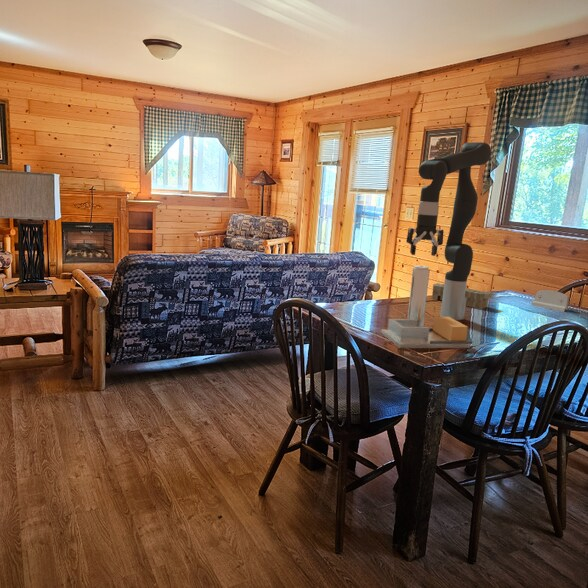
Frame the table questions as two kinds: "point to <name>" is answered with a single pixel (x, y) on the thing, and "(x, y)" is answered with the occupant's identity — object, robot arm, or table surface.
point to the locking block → (450, 329)
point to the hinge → (551, 300)
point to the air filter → (418, 294)
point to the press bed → (418, 336)
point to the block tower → (472, 296)
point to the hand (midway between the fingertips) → (423, 255)
